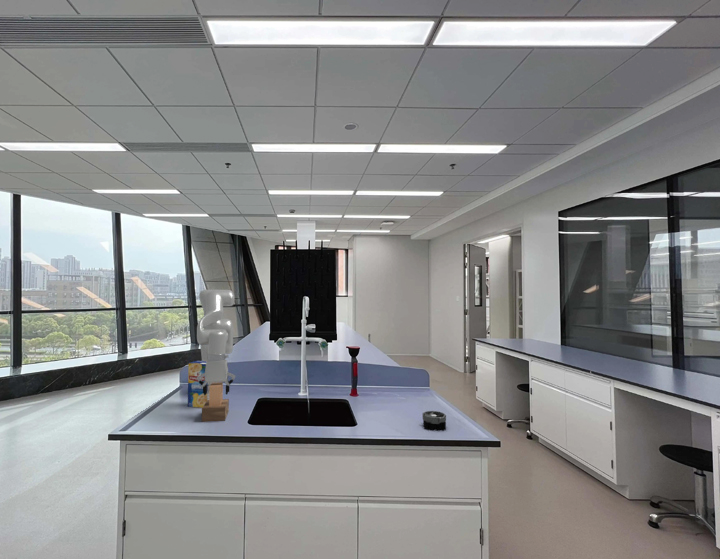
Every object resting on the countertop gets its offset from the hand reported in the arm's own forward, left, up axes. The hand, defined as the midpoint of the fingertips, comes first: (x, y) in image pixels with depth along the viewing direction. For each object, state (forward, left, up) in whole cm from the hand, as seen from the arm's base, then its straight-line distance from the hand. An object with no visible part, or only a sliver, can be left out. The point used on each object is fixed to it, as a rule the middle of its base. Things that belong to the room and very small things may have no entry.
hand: (216, 394), depth 188 cm
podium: (0, 0, -10) cm, 10 cm away
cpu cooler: (+31, +96, -11) cm, 102 cm away
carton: (0, 0, -4) cm, 4 cm away
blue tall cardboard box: (-20, -10, -11) cm, 25 cm away
